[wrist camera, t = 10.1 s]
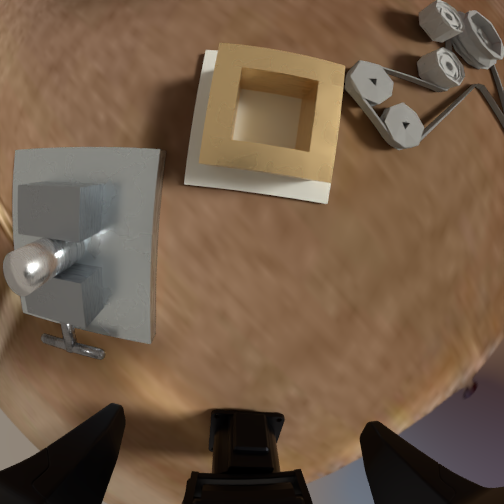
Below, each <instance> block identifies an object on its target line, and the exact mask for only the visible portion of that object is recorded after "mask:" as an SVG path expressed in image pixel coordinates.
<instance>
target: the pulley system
mask: <svg viewBox="0 0 504 504" xmlns="http://www.w3.org/2000/svg"><path fill="white" fill-rule="evenodd" d="M419 25H420V26H421V27H422V29H423V30H424V31H425V32H426V33H427V34H428V36H429V37H430V38H431V39H432V41H437V42H444V41H445V48H444V47H442V48H439V49H438V50H435V51H433V52H431V53H428V54H426V55H424V56H422V57H421V58H420V59H419V60H418V62H417V66H418V72H419V76H420V78H421V79H422V80H421V79H419V78H416V77H413V76H410V75H407V74H404V73H401V72H398V71H395V70H391V69H388V68H385V67H381V66H380V65H378V64H374V63H370V62H366V61H358V62H357V63H356V64H355V65H354V66H352V68H351V69H350V70H349V71H348V73H347V75H346V78H345V90H346V91H347V92H348V93H349V94H350V95H351V96H352V97H353V99H354V100H355V101H356V102H357V104H358V105H359V106H360V107H361V109H362V110H363V111H364V112H365V114H366V115H367V116H368V118H369V119H370V120H371V122H372V123H373V124H374V126H375V127H376V128H377V130H378V131H379V133H380V134H381V136H382V137H383V139H384V140H385V141H386V142H387V143H388V144H389V145H391V146H392V147H394V148H396V149H397V150H401V149H406V148H411V147H415V146H417V145H419V142H420V141H421V140H422V139H423V138H424V137H425V136H426V135H427V134H428V133H429V132H430V131H431V130H432V129H434V128H435V127H436V126H437V125H438V124H439V123H440V122H441V121H442V120H443V119H444V118H445V117H446V116H447V115H448V114H449V113H450V112H451V111H452V110H453V109H454V108H455V107H456V106H457V105H458V104H459V103H460V102H461V101H462V100H463V99H464V98H465V97H466V96H467V95H468V94H469V93H470V92H471V91H472V90H473V89H474V88H475V87H476V88H478V89H479V90H480V91H481V92H482V94H483V95H484V97H485V98H486V100H487V101H488V103H489V104H490V106H491V107H492V109H493V111H494V112H495V114H496V116H497V117H498V119H499V121H500V122H501V124H502V126H503V127H504V115H503V113H502V112H501V110H500V108H499V107H498V105H497V104H496V102H495V101H494V99H493V98H492V96H491V95H490V93H489V92H488V90H487V89H486V87H485V86H484V85H482V84H473V85H471V86H470V87H469V88H468V89H467V90H466V91H465V92H464V93H463V94H462V95H461V96H460V97H458V98H457V99H456V100H455V101H454V102H453V103H452V104H451V105H450V106H449V107H448V108H447V109H446V110H444V111H443V112H442V113H441V114H440V115H439V116H438V117H437V118H436V119H435V120H434V121H433V122H431V123H430V124H429V125H428V126H427V127H426V128H425V129H424V126H423V124H422V123H421V121H420V119H419V117H418V116H417V114H416V112H414V111H413V110H412V109H411V108H409V107H408V106H407V105H406V104H404V103H400V104H397V105H395V106H392V107H389V108H386V109H385V110H384V112H383V113H382V115H381V117H380V118H379V116H378V115H377V114H376V112H375V111H374V110H373V108H372V107H371V106H375V105H377V104H380V103H382V102H383V101H385V100H386V99H387V98H389V97H390V96H391V95H392V89H393V83H394V82H393V81H392V80H391V78H390V77H389V76H388V75H387V74H389V75H392V76H395V77H398V78H401V79H404V80H407V81H410V82H413V83H416V84H418V85H421V86H424V87H426V88H429V89H431V90H434V91H436V92H443V91H447V90H448V89H449V88H451V87H455V86H459V85H460V84H461V82H462V81H463V79H464V77H465V73H464V68H463V65H462V64H461V62H460V61H459V59H458V58H457V56H456V55H455V54H454V53H453V52H452V45H453V47H454V49H455V51H456V52H457V53H458V54H459V55H460V56H461V57H462V58H463V59H464V60H465V61H466V62H467V63H468V64H469V65H471V66H473V67H475V68H477V69H480V68H482V69H488V68H490V67H491V70H492V73H493V76H494V79H495V82H496V85H497V89H498V92H499V96H500V100H501V103H502V107H503V112H504V90H503V87H502V84H501V81H500V79H499V76H498V73H497V70H496V68H495V65H494V64H496V60H499V59H502V58H503V56H504V47H503V44H502V41H501V39H500V37H499V35H498V34H497V32H496V30H495V28H494V27H493V25H492V23H491V22H490V21H489V20H487V19H486V18H485V17H484V16H482V15H481V14H480V13H479V12H477V11H476V10H475V11H468V12H467V13H462V12H460V11H459V12H457V11H456V9H455V8H453V7H452V6H450V5H449V4H447V3H446V2H443V1H441V0H436V1H435V2H433V3H432V4H430V5H429V6H427V7H426V8H425V9H423V10H422V11H420V12H419ZM451 43H452V44H451Z"/></svg>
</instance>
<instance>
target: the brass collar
mask: <svg viewBox="0 0 504 504" xmlns="http://www.w3.org/2000/svg"><path fill="white" fill-rule="evenodd" d="M344 75H345V66H344V65H341V64H337V63H334V62H330V61H326V60H322V59H318V58H314V57H310V56H305V55H301V54H296V53H291V52H286V51H280V50H275V49H269V48H262V47H255V46H247V45H239V44H229V43H219V48H218V53H217V58H216V62H215V67H214V73H213V78H212V83H211V88H210V94H209V99H208V105H207V111H206V117H205V123H204V129H203V136H202V143H201V149H200V156H199V164H204V165H209V166H218V167H226V168H234V169H241V170H249V171H256V172H263V173H269V174H276V175H282V176H288V177H294V178H300V179H305V180H311V181H318V182H325V183H331V179H332V173H333V166H334V159H335V152H336V145H337V138H338V130H339V122H340V114H341V105H342V96H343V86H344ZM241 89H246V90H253V91H260V92H266V93H272V94H278V95H284V96H289V97H294V98H299V99H302V103H301V110H300V117H299V124H298V131H297V138H296V145H295V149H290V148H284V147H278V146H272V145H266V144H260V143H253V142H246V141H238V140H233V135H234V129H235V123H236V116H237V110H238V104H239V98H240V92H241Z"/></svg>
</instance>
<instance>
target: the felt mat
mask: <svg viewBox="0 0 504 504" xmlns="http://www.w3.org/2000/svg"><path fill="white" fill-rule="evenodd" d="M217 53H218V51H215V50H206V52H205V57H204V61H203V66H202V71H201V76H200V82H199V87H198V92H197V98H196V104H195V109H194V115H193V122H192V128H191V135H190V141H189V148H188V156H187V163H186V171H185V179H184V184H185V185H195V186H204V187H213V188H222V189H230V190H238V191H245V192H253V193H260V194H267V195H274V196H281V197H287V198H294V199H300V200H306V201H312V202H318V203H324V204H327V203H328V197H329V191H330V185H331V183H325V182H318V181H311V180H305V179H300V178H294V177H288V176H282V175H276V174H269V173H263V172H256V171H249V170H241V169H234V168H226V167H218V166H209V165H204V164H199V156H200V149H201V143H202V136H203V129H204V123H205V117H206V111H207V105H208V99H209V94H210V88H211V83H212V78H213V73H214V67H215V62H216V58H217ZM301 103H302V99H299V98H294V97H289V96H284V95H278V94H272V93H266V92H260V91H253V90H246V89H241V92H240V98H239V104H238V110H237V116H236V123H235V129H234V135H233V140H238V141H246V142H253V143H260V144H266V145H272V146H278V147H284V148H290V149H295V145H296V138H297V131H298V124H299V117H300V110H301Z"/></svg>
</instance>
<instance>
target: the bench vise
mask: <svg viewBox="0 0 504 504" xmlns="http://www.w3.org/2000/svg"><path fill="white" fill-rule="evenodd" d="M165 158H166V151H165V150H161V149H147V148H122V147H62V148H39V149H23V150H15V161H14V175H13V237H14V251H12V252H10V253H8V254H7V255H6V256H5V258H4V262H3V272H4V277H5V280H6V282H7V284H8V286H9V287H10V288H11V290H12V291H13V292H14V293H15V294H17V295H19V296H20V298H21V303H22V309H23V313H26V314H29V315H32V316H36V317H39V318H42V319H46V320H49V321H52V322H56V323H59V324H61V329H62V334H63V338H59V337H56V336H53V335H50V334H46V333H44V334H42V336H41V340H42V342H43V343H45V344H48V345H51V346H54V347H57V348H60V349H64V350H66V351H67V352H74V353H77V354H81V355H84V356H88V357H92V358H96V359H99V360H102V359H104V358H105V355H106V354H105V351H104V350H103V349H100V348H96V347H92V346H88V345H84V344H81V343H77V341H76V335H75V329H74V328H78V329H82V330H86V331H90V332H94V333H99V334H103V335H107V336H112V337H117V338H121V339H126V340H131V341H136V342H142V343H147V344H151V343H152V341H153V339H154V336H155V334H156V267H157V245H158V229H159V215H160V204H161V193H162V183H163V174H164V166H165Z"/></svg>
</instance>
